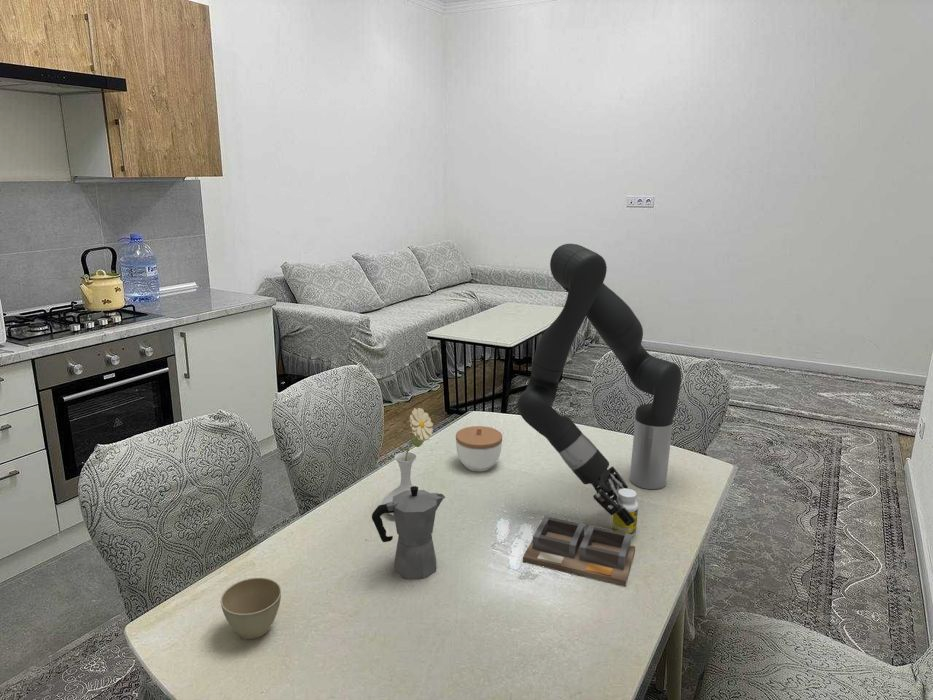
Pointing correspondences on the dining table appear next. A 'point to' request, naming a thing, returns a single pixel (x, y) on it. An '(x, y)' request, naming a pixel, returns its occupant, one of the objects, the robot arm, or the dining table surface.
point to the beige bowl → (251, 606)
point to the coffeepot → (411, 531)
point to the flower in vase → (405, 459)
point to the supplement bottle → (632, 507)
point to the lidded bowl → (478, 447)
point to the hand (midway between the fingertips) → (633, 516)
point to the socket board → (581, 550)
